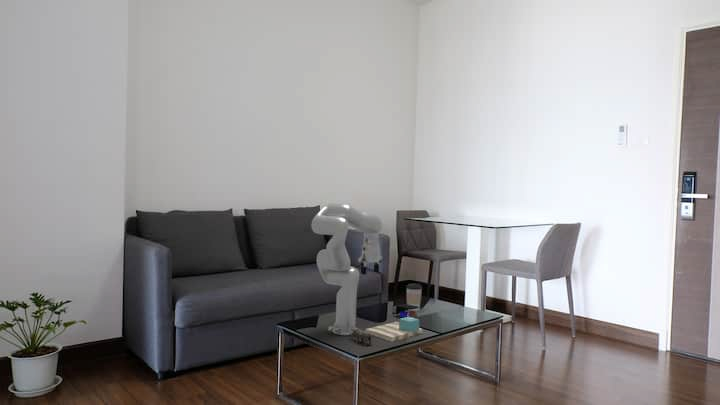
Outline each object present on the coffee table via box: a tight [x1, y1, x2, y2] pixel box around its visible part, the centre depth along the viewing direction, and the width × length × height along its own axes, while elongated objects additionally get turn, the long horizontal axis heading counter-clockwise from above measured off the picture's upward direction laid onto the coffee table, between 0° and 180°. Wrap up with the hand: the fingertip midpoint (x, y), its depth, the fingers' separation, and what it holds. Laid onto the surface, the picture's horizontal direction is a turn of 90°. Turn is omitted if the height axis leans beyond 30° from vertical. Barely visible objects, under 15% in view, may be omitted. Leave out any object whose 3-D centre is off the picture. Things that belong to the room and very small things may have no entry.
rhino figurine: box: [350, 328, 373, 347], centre depth 230 cm, size 4×14×6 cm, turn 41°
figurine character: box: [391, 303, 419, 319], centre depth 275 cm, size 7×8×15 cm
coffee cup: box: [406, 282, 423, 312], centre depth 295 cm, size 9×9×15 cm
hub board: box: [365, 321, 424, 343], centre depth 245 cm, size 22×17×6 cm
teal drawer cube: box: [398, 317, 420, 332], centre depth 245 cm, size 7×7×5 cm
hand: (369, 273), depth 270 cm, fingers open, 9 cm apart
